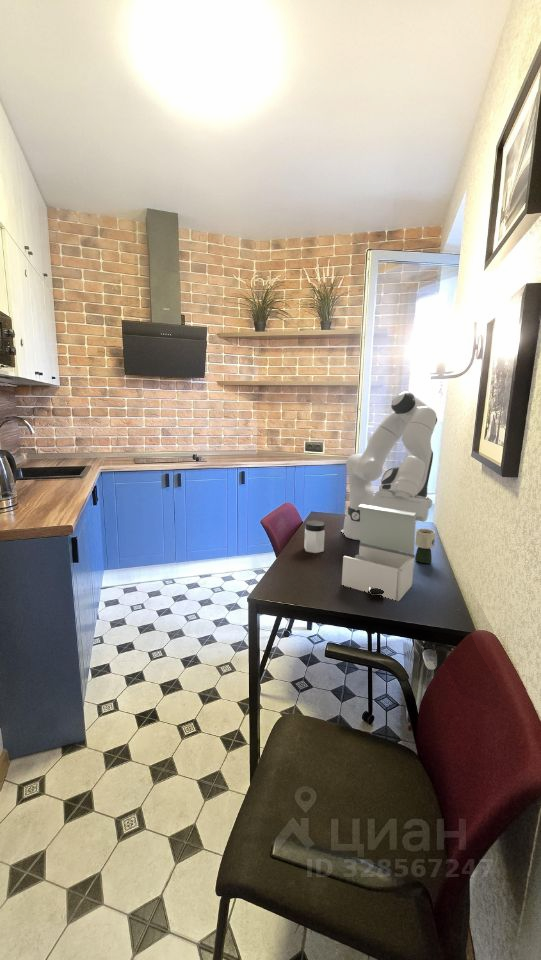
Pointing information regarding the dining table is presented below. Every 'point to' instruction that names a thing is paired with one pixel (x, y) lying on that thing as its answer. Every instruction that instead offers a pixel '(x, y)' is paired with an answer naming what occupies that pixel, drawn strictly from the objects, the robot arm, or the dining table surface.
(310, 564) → the dining table surface
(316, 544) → the jar
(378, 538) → the cover
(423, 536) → the character mug
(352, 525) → the robot arm
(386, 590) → the channel
